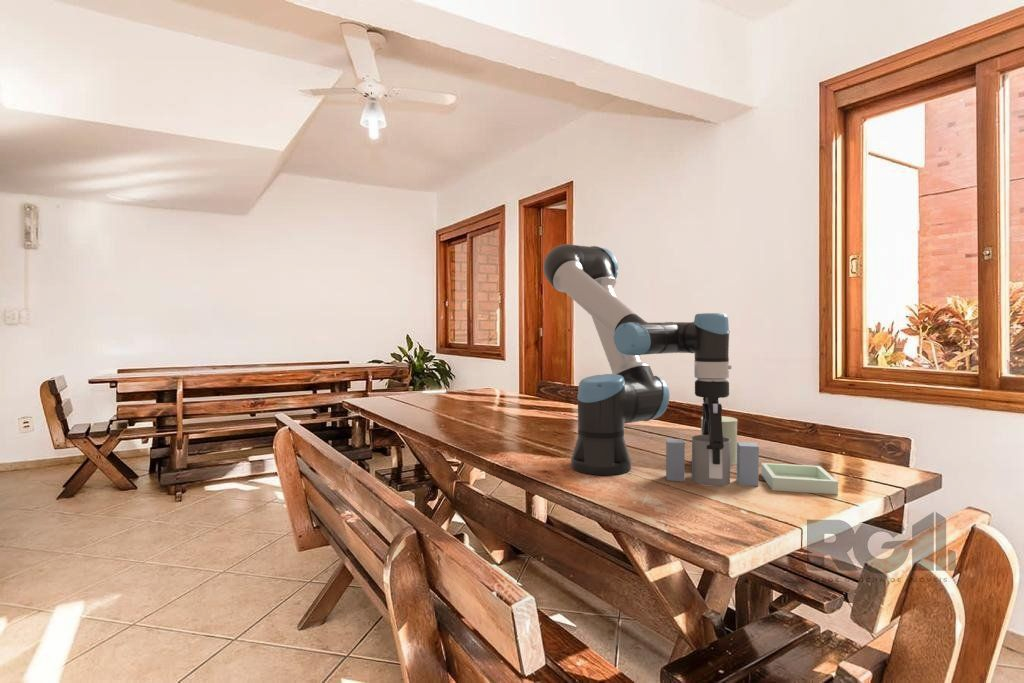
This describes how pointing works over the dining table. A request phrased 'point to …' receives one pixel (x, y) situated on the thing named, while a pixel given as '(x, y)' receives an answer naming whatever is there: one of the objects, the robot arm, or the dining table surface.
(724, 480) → the cup
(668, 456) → the block
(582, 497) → the dining table surface
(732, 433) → the can
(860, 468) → the dining table surface
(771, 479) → the tray
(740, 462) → the block
